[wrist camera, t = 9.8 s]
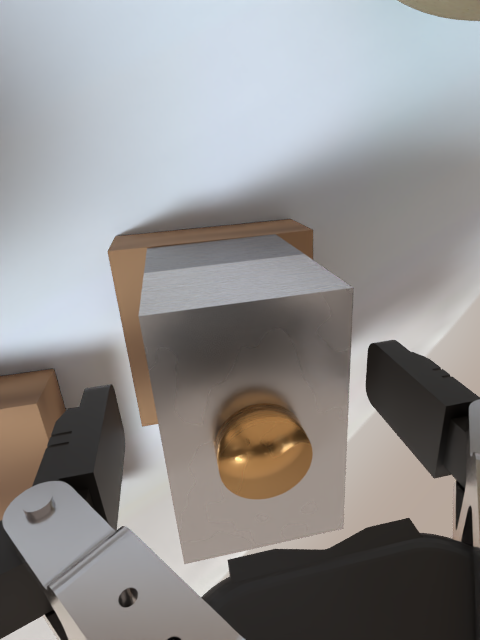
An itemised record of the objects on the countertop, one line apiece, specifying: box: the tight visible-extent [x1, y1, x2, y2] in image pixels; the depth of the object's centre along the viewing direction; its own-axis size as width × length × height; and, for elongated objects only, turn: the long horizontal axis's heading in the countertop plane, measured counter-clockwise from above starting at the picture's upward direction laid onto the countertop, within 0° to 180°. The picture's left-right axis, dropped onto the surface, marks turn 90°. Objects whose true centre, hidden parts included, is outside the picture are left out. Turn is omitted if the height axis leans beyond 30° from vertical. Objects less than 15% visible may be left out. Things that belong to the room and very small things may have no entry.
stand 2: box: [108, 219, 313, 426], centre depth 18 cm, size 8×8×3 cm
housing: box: [139, 234, 353, 564], centre depth 14 cm, size 8×5×8 cm, turn 4°
